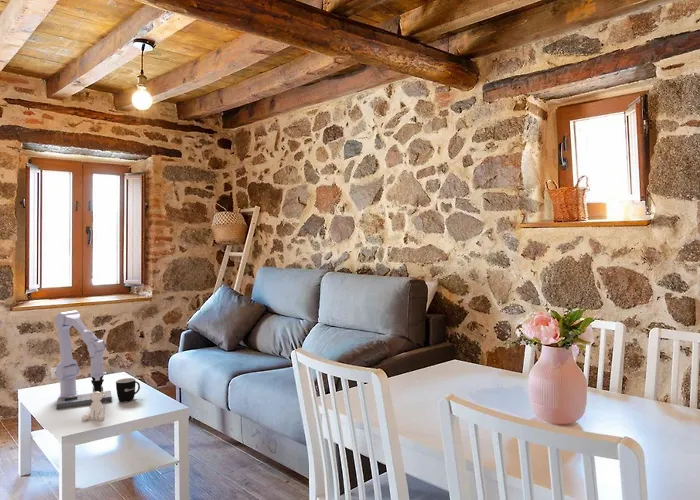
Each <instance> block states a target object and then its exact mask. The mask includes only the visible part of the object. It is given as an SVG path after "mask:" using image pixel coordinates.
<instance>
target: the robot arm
mask: <svg viewBox="0 0 700 500" xmlns="http://www.w3.org/2000/svg"><path fill="white" fill-rule="evenodd" d="M81 315H82V314H80V313H79V311H77V310H76V309H75V310H71V311H64V312H58V313H56V315H55V327H56V329H57V336H58V337H57V338H58V347H59V354H60V361H59V362H58V363H57V364H56V367H55V368H56V370H55V376H56V378H57V379H58V381H59V386H60V392H59V397H58V398H60V397H66V396H73V395H78V390H77V381H76V380H77V378H78V375H79V373H80V366H79V365H78V361H77V360H75V359H73V354H72V353H73V352H72V351H73V350H72V343H71V336H70V334H71V333H70V329H71V328H72V327H73V328H74V329H76V330H77V332H79V334H80V339H81V340H82V341H83V342H84V343H85V345H86V346H87V352H88V353H89V357H90V377H91V381H90V382H91V384H92V385H93V386H94V390H95V392H97V391H99V392H101V387H102V386H103V383H104V381H105V379H103V378H104V375H107V372H106V371H104V351H105V350H106V344H105V341H104V340H103V339H100V338H98V337H97V336H96V335H95V334H94V332H93V331H92V330H90V329H89V330H88V328H87V327H86V325H85V324H84V323H83V321H82V319H81V317H82V316H81ZM93 386H92V387H93Z"/></svg>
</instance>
